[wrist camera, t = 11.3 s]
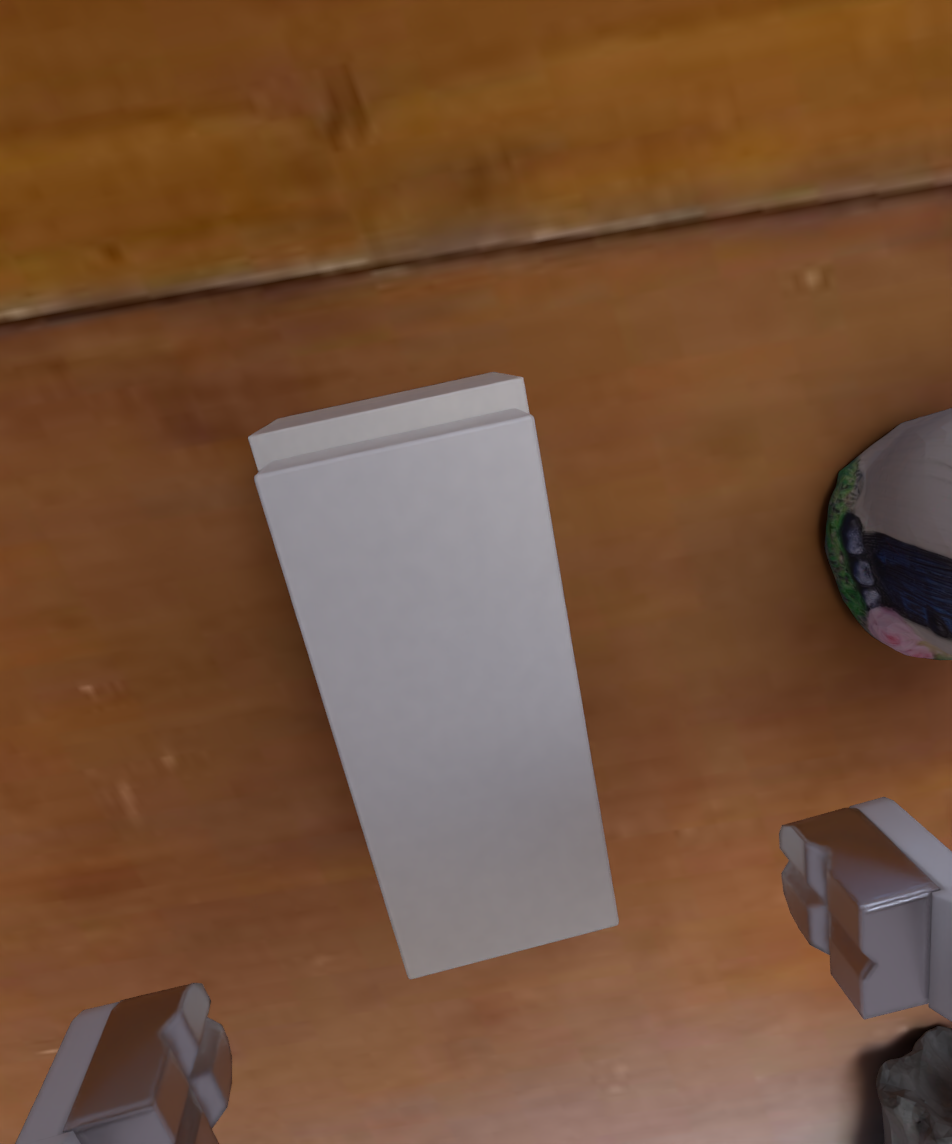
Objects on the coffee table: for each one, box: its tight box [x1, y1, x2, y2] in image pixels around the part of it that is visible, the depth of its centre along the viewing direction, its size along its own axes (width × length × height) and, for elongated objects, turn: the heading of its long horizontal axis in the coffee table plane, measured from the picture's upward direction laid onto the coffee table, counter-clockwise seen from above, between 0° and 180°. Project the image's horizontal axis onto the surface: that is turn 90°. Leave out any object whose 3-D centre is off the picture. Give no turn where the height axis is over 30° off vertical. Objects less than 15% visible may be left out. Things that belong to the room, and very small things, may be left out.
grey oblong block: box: [248, 372, 529, 472], centre depth 19 cm, size 14×6×4 cm, turn 11°
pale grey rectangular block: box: [254, 408, 619, 979], centre depth 16 cm, size 13×6×2 cm, turn 11°
